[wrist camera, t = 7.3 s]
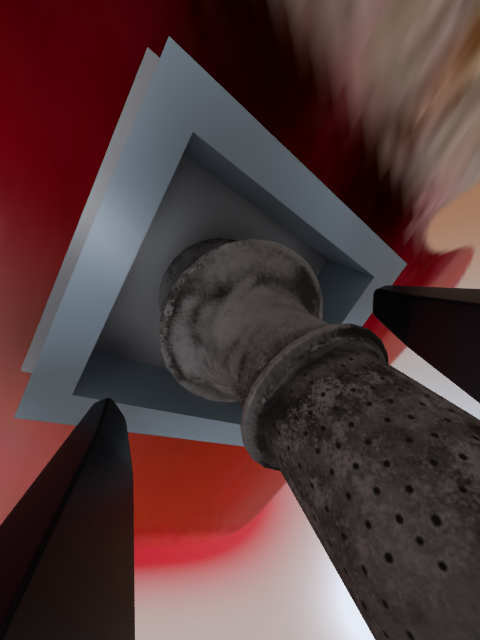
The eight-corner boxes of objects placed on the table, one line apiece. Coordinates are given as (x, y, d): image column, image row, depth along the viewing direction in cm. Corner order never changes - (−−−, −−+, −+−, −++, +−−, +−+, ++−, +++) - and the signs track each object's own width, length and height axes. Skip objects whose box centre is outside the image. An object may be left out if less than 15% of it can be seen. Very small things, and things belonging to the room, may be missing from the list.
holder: (146, 61, 8) (153, -24, 5) (355, 242, 14) (422, 257, 11) (29, 357, 11) (-17, 429, 8) (247, 406, 17) (275, 459, 14)
